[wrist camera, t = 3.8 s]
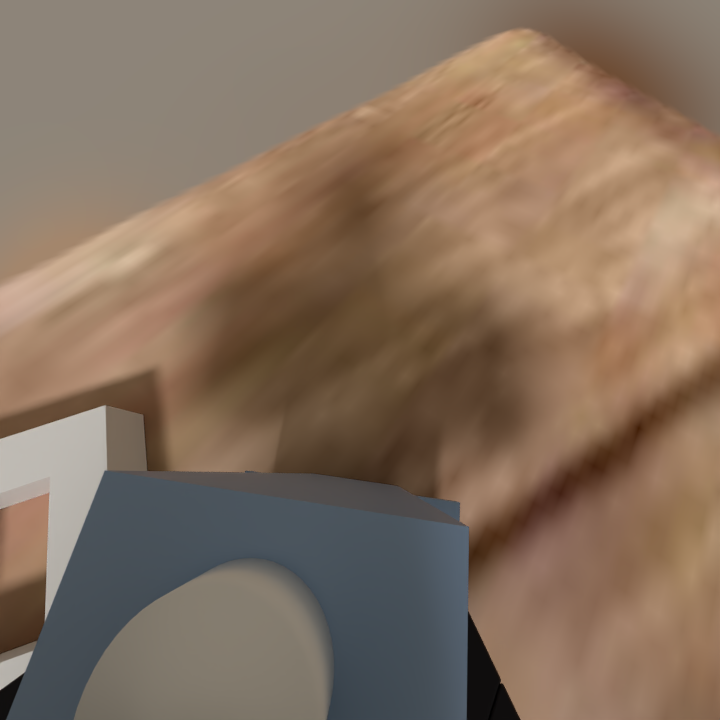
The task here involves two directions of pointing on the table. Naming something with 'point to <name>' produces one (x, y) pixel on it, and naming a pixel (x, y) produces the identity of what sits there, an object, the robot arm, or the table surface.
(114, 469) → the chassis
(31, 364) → the table surface
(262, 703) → the servo
